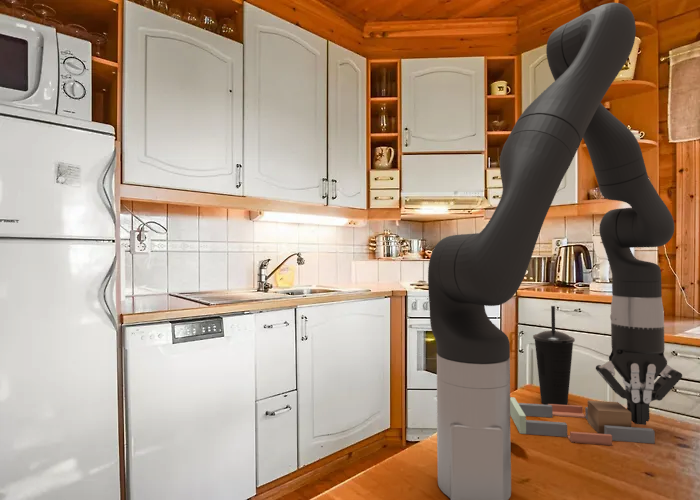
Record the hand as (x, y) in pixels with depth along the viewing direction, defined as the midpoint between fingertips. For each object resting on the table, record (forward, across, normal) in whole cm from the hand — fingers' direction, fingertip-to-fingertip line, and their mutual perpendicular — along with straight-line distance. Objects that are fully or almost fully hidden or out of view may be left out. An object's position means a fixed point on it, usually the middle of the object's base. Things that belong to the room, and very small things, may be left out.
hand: (638, 422), depth 70 cm
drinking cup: (+2, -10, +12) cm, 16 cm away
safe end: (+1, -20, 0) cm, 20 cm away
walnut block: (+2, -5, 0) cm, 5 cm away
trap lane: (+1, -10, 0) cm, 10 cm away
